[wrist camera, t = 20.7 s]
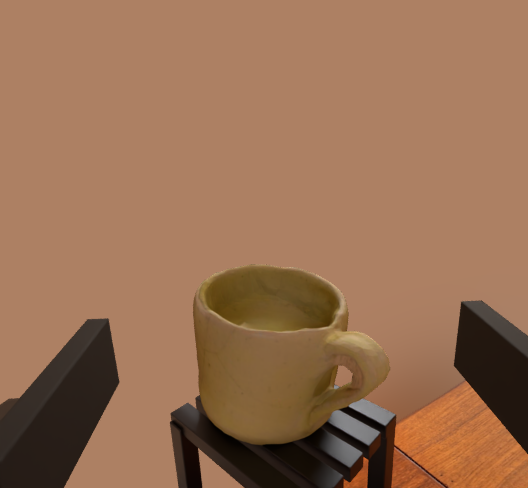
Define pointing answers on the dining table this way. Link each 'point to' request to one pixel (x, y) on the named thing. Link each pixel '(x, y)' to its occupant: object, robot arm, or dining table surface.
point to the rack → (290, 450)
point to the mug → (278, 353)
